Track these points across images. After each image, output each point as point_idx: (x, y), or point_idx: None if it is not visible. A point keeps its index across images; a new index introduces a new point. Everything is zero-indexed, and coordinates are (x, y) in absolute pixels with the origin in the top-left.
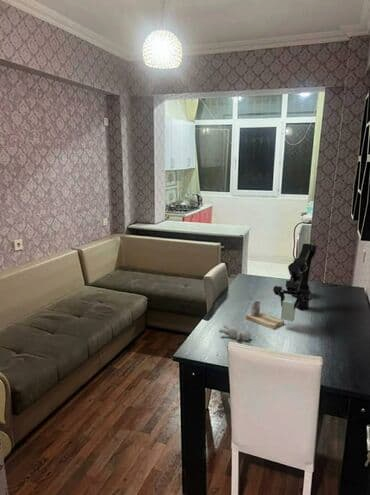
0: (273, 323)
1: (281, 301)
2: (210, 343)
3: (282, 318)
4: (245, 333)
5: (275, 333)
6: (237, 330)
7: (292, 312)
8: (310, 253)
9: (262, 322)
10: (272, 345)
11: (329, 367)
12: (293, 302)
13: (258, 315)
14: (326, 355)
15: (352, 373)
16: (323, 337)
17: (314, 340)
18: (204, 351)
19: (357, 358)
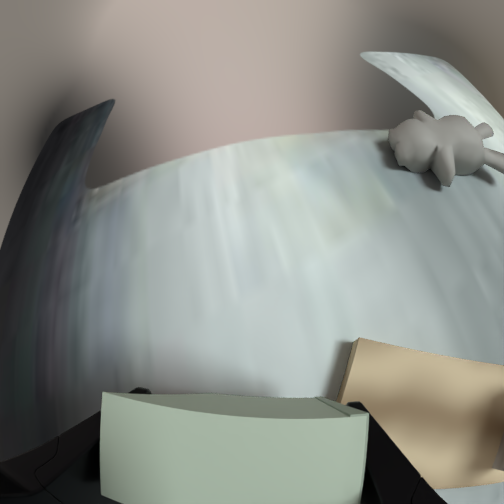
0: (373, 379)
1: (390, 452)
2: (454, 104)
3: (310, 398)
4: (411, 126)
5: (319, 290)
6: (443, 121)
7: (187, 395)
8: None
9: (442, 357)
10: (283, 161)
11: (88, 150)
12: (122, 450)
13: (491, 431)
14: (77, 206)
15: (48, 162)
16: (67, 367)
17: (100, 313)
18: (427, 74)
19: (11, 243)
